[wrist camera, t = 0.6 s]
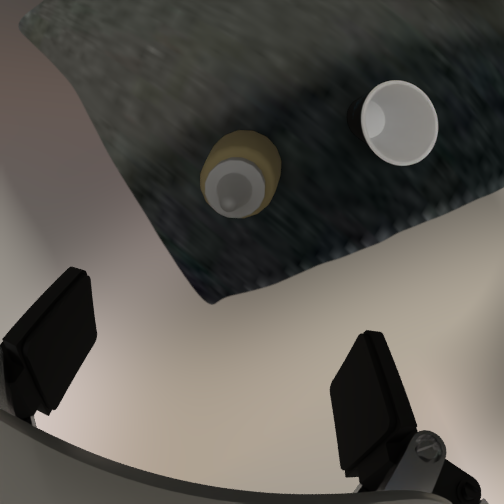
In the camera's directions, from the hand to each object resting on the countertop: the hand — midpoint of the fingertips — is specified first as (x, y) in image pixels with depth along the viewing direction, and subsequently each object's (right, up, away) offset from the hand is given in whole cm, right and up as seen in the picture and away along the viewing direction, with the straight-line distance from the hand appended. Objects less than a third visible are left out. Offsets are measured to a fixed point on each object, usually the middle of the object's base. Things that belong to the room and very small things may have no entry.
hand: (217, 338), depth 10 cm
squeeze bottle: (+1, +14, +26) cm, 30 cm away
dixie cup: (+15, +19, +23) cm, 33 cm away
